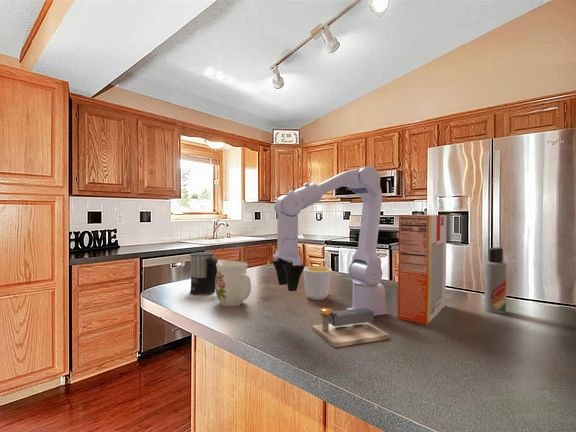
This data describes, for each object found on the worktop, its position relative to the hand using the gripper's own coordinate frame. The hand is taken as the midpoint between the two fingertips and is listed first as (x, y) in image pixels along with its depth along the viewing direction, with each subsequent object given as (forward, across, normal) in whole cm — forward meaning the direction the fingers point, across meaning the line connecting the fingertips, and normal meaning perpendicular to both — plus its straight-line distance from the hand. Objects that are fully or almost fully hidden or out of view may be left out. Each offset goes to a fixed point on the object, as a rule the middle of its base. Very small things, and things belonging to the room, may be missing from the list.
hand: (287, 287), depth 90 cm
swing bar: (+7, +11, +12) cm, 18 cm away
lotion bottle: (+10, +11, +65) cm, 67 cm away
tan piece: (+10, +13, +12) cm, 20 cm away
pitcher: (+10, -23, -11) cm, 27 cm away
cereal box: (+10, +4, +43) cm, 45 cm away
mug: (+10, -22, +20) cm, 31 cm away
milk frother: (+10, -44, -15) cm, 47 cm away
